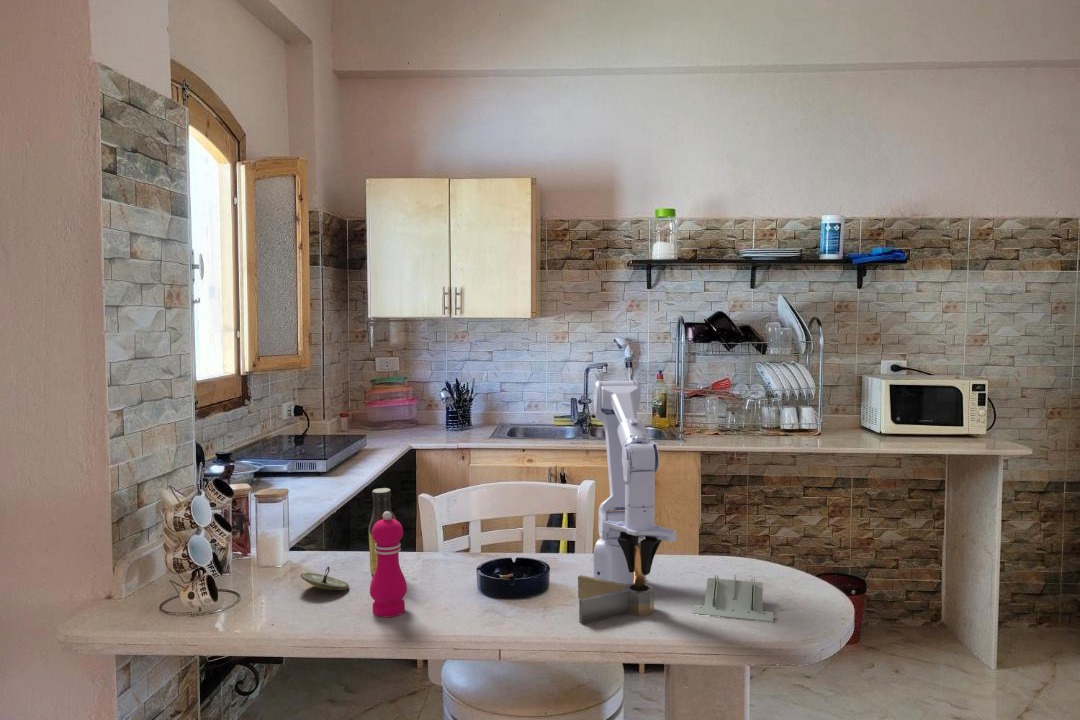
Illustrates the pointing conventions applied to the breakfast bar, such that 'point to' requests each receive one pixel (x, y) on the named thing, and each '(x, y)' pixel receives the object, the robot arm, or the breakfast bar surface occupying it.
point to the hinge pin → (638, 566)
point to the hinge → (612, 599)
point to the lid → (324, 581)
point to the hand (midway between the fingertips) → (639, 572)
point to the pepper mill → (388, 569)
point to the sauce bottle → (380, 506)
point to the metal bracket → (734, 600)
